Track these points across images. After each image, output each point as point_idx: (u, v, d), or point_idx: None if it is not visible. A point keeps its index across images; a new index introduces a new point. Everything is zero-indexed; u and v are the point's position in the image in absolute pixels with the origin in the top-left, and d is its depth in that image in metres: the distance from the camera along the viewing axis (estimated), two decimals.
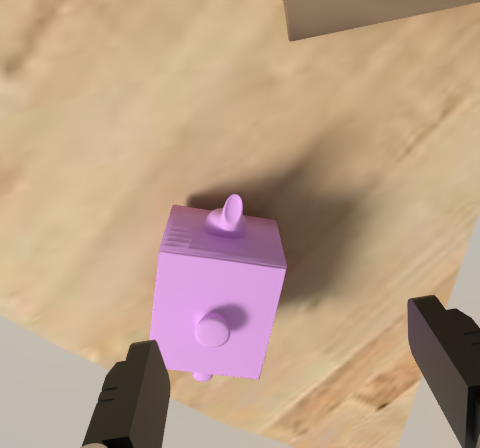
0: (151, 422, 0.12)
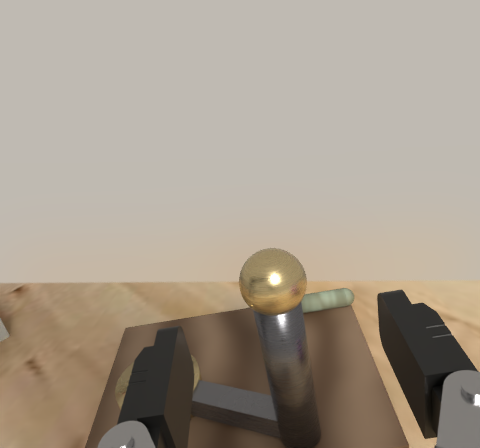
0: (180, 404, 0.12)
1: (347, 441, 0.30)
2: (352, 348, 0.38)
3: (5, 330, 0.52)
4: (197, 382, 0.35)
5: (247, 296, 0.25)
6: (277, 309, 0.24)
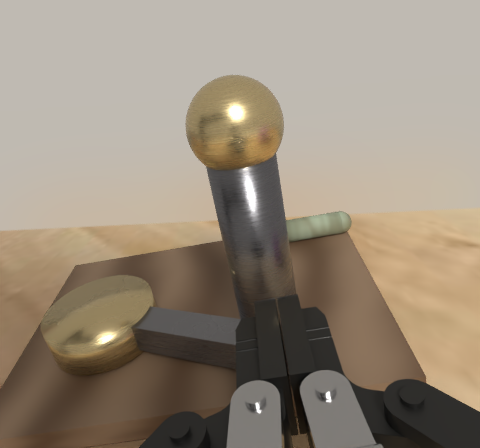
0: (287, 370, 0.13)
1: None
2: (349, 274, 0.30)
3: None
4: (148, 309, 0.27)
5: (195, 137, 0.17)
6: (238, 153, 0.16)
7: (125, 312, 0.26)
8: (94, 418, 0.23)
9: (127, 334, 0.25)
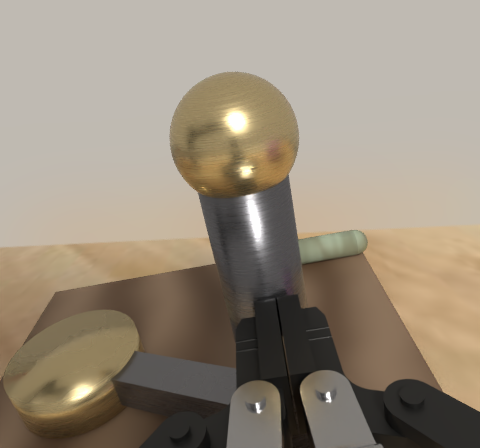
0: (287, 371, 0.13)
1: None
2: (368, 306, 0.26)
3: None
4: (131, 354, 0.23)
5: (182, 155, 0.12)
6: (241, 177, 0.12)
7: (105, 360, 0.22)
8: None
9: (106, 388, 0.21)
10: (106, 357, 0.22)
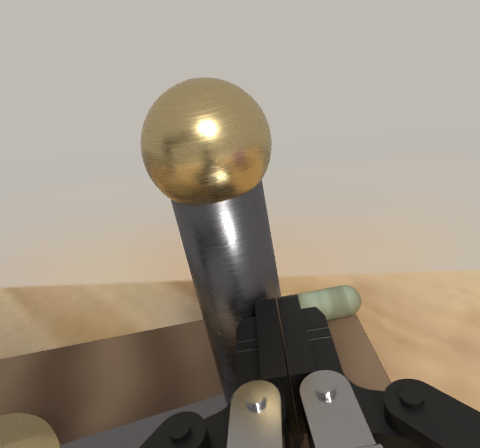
0: (287, 370, 0.13)
1: None
2: None
3: None
4: None
5: (185, 162, 0.12)
6: (248, 173, 0.12)
7: None
8: None
9: None
10: None
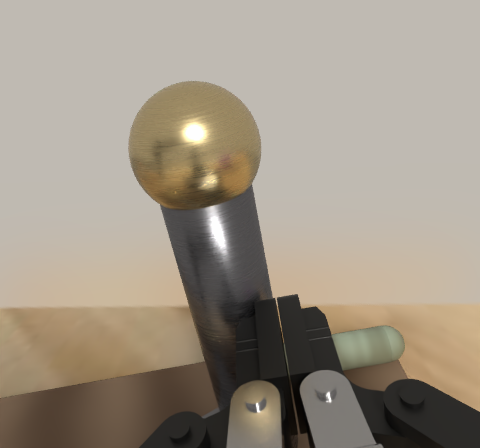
0: (287, 370, 0.13)
1: None
2: None
3: None
4: None
5: (192, 163, 0.11)
6: (249, 171, 0.12)
7: None
8: None
9: None
10: None
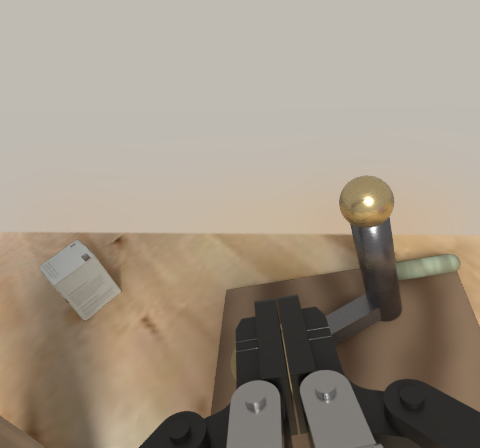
0: (287, 370, 0.13)
1: None
2: (460, 323, 0.38)
3: (117, 287, 0.57)
4: None
5: (370, 217, 0.31)
6: (390, 213, 0.32)
7: None
8: None
9: None
10: None
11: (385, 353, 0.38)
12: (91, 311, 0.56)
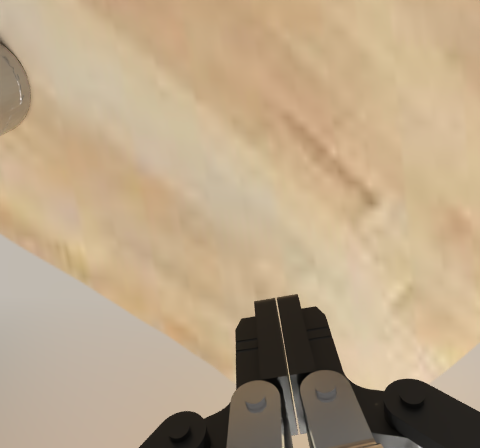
0: (287, 370, 0.13)
1: None
2: None
3: None
4: None
5: None
6: None
7: None
8: None
9: None
10: None
11: None
12: None
